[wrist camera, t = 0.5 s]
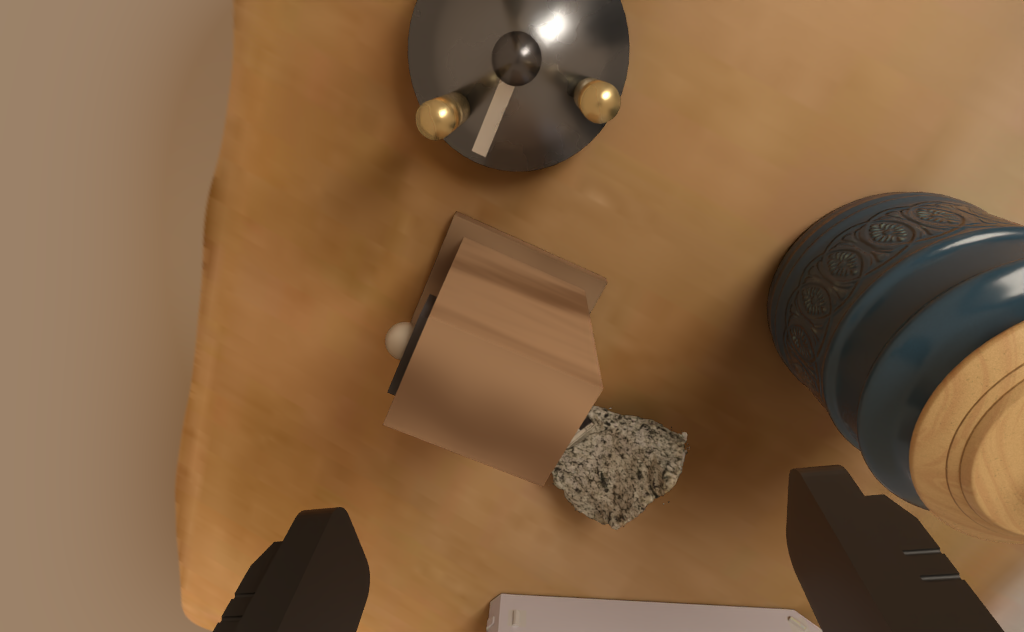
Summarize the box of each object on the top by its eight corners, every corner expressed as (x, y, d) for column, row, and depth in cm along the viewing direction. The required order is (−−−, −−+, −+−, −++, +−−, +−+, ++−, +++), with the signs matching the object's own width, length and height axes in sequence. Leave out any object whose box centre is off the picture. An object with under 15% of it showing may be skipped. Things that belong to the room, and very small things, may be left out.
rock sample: (555, 388, 33) (637, 524, 30) (641, 354, 38) (721, 470, 34) (497, 452, 41) (558, 566, 38) (574, 418, 45) (634, 518, 42)
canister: (748, 221, 32) (949, 378, 16) (991, 157, 30) (1495, 265, 14) (772, 402, 38) (944, 657, 21) (983, 358, 35) (1347, 604, 19)
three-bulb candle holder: (460, -111, 26) (431, -172, 19) (665, -3, 28) (706, -24, 21) (386, 114, 31) (341, 130, 24) (566, 198, 32) (572, 236, 25)
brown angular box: (448, 207, 33) (402, 280, 22) (606, 278, 34) (635, 379, 23) (404, 318, 36) (344, 429, 25) (549, 378, 38) (552, 508, 27)
